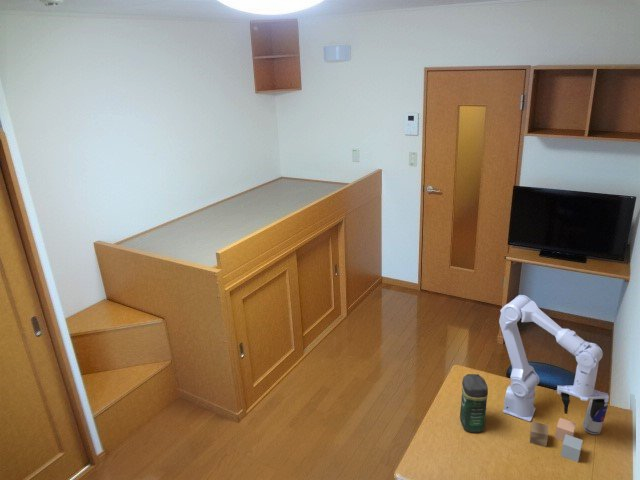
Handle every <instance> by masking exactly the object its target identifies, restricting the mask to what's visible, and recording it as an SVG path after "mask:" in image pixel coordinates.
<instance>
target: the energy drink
mask: <svg viewBox="0 0 640 480" xmlns="http://www.w3.org/2000/svg"><path fill="white" fill-rule="evenodd" d="M588 401H589V402H588V406H587V408H586V412H585V417H584V420H583V422H582V423H583V424H582V429H584V431H585V432H586V433H589V434H591V435H600V433H601V431H602V428H603V425H604V421H605V417H606V415H607V410H608V407H609V405H608V403H609V402H605V401H604V404H605V405H604V407H603V408H601V409H600V410H599V411H598V412H597V413H596V415H595V416H594V418H591V416H590V411H591V407H592V401H593V399H589V400H588Z"/></svg>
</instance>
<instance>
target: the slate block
mask: <svg viewBox="0 0 640 480" xmlns="http://www.w3.org/2000/svg"><path fill="white" fill-rule="evenodd" d="M582 447H583V439H581V438H577V437H575V436H574V437H572V436H570V435H567V434H565V438H564V441H562V447H561V452H560V457H562V458H565V459H567V460H570V461H573V462H576V463H579V460H580V455H581V453H582V452H581V451H582Z"/></svg>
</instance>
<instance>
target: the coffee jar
mask: <svg viewBox="0 0 640 480" xmlns="http://www.w3.org/2000/svg"><path fill="white" fill-rule="evenodd" d="M488 392H489V387H488V384H487V382H486V380H485V378H483V376H481V375H480V374H478V373H477V374H476V373H470V374H469V373H468V374H465V376H463V378H462V383H461V402H460V411H459V419H460V420H459V421H460V423H461V426H462V428H463V429H464V431H467V432H470V433H481V432H482V431H484V430H485V426H486V412H487V404H488V403H487V402H488V401H487V400H488V394H489V393H488Z"/></svg>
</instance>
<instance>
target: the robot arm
mask: <svg viewBox="0 0 640 480" xmlns="http://www.w3.org/2000/svg"><path fill="white" fill-rule="evenodd" d="M499 311H500V316H499V320H498V323H499V326H500V329H501V333H502V337H503V340H504V343H505V347H506V350H507V353H508V357H509V360H510V364H511V368H512V369H511V374H510V384H509V385H508V386H507V388H506V391H505V396H504V401H503V402H504V403H503V404H504V405H503V410H502V412H503V413H504V414H507V415H509V416H512V417H516V418H519V419H521V420H523V421H527V422H532V420H533V418H534V415H535V411H536V410H537V409H536V407H535V406H534V404H535V397H536V387H537V386H538V385H539V383H540V377H539V375H538V374H537V372H536V371H535V368H534V366H532V365H531V364H529V362H528V358H527V353H526V350H525V347H524V345H523V340H522V336H521V334H520V331H519V326H518V322H520V319H521V323H530V322H531V323H532V322H533V323H535V324H536V325H537V326H539V327H540V328H542V329H544V331H546V332H547V333H549V334H551V335H552V336H553V337H555V340H556V343H557V344H559V345H560V346H561V347H562V348H563V349H565V350H566V351H567V352H569V353H570V354H571V355H572V356H573V357H575V360H576V362H577V363H576V364H577V365H576V368H575V369H576V370H575V376H574V380H573V385H557V388H556V392H557V395H560V397H561V401H562V403H563V411H564V415H565V414H566V415H567V414H568V411H569V405H570V402H571V400H570V397H571V396H573V397H576V398H578V399H580V401H584V402H588V401H589V400H590V399H593V401H592V407H591V411H590V416H591V418H594V416H595V415H596V413H597V412H598V411H599V410H600V409H601V408H603V407H604V405H605V404H604V401H605V402H607V403H609V400H610V399H609V398H610V396H609V393H607V392H603V391H600V390H597V389H595V385H596V380H597V376H598V368H599V362H600V361H601V360H602V358H603V355H604V352H603V350H602V349H601V347H600V346H599V345H598V344H597V343H594V342H590V341H586V340H584V339H583V338H582V337H580V336H579V335H578V334H577V332H576V331H574V330H571V329H570V328H562V327H561V326H560V325H559V324H558V323H557V322H556V321H555V320H553V319H552V318H550V317H549V316H548V315H547V314H546V313H545V312H544V311H542V310H541V309H540V308H539V307H538V305H537V304H536V302H535V301H533V300H532V299H531V298H530V297H528V296H527V295H523V294H519V295H517V296H515V298H514V299H512V300H511V301H510V302H508V303H507V304H505V305H504V306H502V308H501V309H500V310H499Z"/></svg>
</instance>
